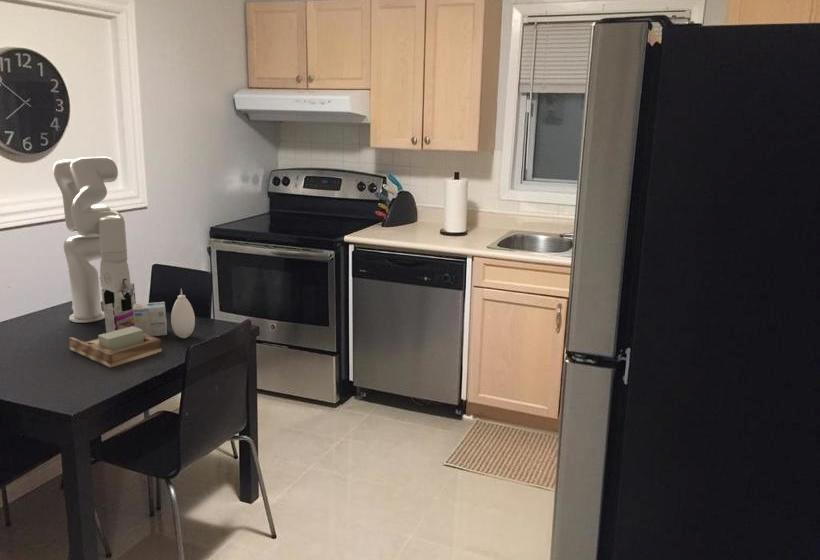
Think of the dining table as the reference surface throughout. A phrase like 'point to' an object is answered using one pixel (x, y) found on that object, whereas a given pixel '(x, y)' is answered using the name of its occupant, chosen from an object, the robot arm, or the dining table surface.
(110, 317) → the candy bar box
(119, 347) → the cream rectangular block
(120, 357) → the wooden tray
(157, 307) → the light bulb box
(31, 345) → the dining table surface
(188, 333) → the white air blower bulb
